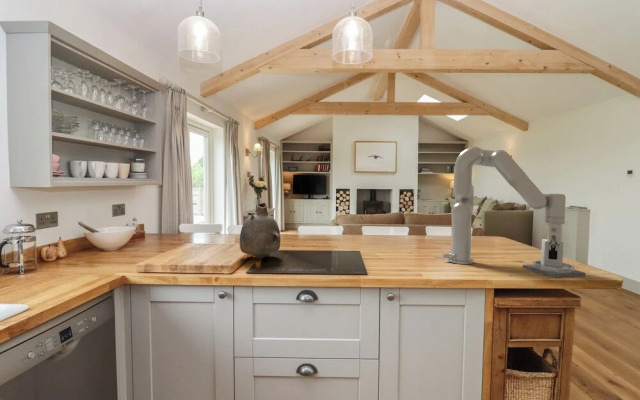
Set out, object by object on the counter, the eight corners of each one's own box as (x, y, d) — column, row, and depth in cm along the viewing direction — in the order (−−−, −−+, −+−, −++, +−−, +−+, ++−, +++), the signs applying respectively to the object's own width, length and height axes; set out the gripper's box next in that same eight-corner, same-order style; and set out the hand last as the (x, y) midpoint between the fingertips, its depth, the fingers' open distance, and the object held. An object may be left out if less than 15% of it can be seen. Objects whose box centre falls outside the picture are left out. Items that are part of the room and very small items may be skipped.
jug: (230, 262, 170) (230, 203, 169) (246, 253, 191) (246, 201, 190) (276, 264, 166) (276, 204, 165) (287, 255, 187) (288, 202, 186)
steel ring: (551, 273, 147) (552, 269, 147) (524, 264, 163) (524, 260, 163) (584, 272, 149) (584, 268, 149) (553, 263, 165) (553, 259, 165)
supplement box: (562, 269, 151) (564, 242, 151) (543, 268, 155) (544, 240, 154) (558, 266, 158) (560, 239, 157) (540, 264, 161) (541, 238, 161)
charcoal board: (551, 277, 146) (551, 274, 146) (522, 267, 163) (522, 264, 163) (585, 276, 149) (585, 272, 149) (553, 266, 166) (553, 263, 166)
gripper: (564, 222, 146) (562, 262, 147) (564, 219, 160) (563, 255, 161) (543, 221, 150) (542, 259, 151) (545, 218, 164) (544, 253, 165)
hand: (553, 257), depth 156 cm, fingers closed on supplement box, 8 cm apart
